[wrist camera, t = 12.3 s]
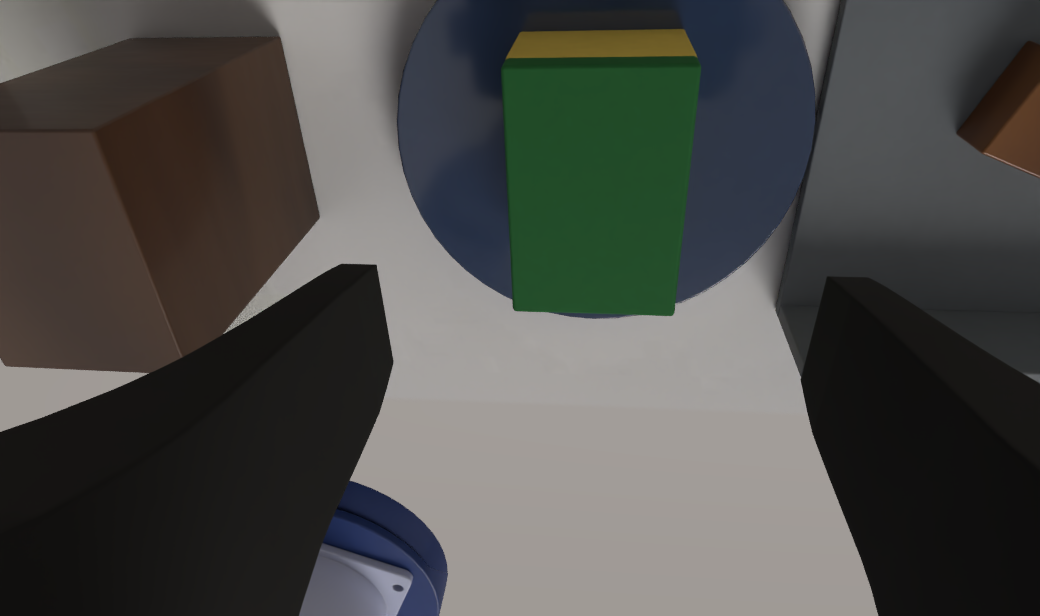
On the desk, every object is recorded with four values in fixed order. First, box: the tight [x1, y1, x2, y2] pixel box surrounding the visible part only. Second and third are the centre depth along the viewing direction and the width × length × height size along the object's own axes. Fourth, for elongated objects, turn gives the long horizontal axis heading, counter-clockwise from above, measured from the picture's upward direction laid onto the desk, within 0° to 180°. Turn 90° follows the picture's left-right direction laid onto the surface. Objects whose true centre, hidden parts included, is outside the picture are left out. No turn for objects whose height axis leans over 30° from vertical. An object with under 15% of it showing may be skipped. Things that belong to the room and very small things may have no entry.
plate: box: [397, 0, 815, 319], centre depth 18 cm, size 11×11×1 cm
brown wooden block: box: [0, 36, 320, 373], centre depth 17 cm, size 4×6×8 cm
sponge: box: [501, 29, 701, 316], centre depth 16 cm, size 4×6×4 cm, turn 2°
